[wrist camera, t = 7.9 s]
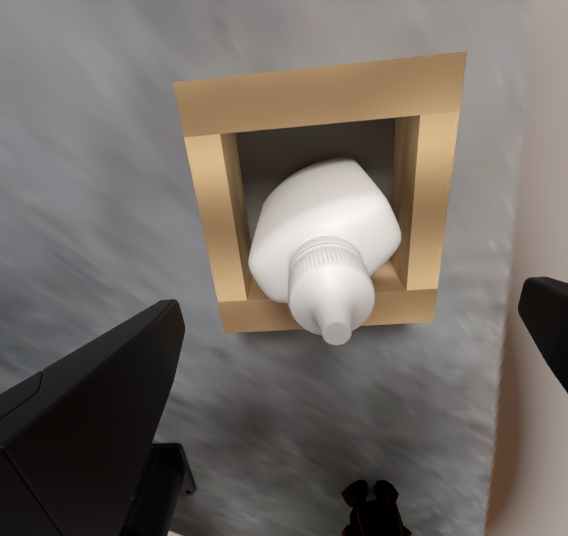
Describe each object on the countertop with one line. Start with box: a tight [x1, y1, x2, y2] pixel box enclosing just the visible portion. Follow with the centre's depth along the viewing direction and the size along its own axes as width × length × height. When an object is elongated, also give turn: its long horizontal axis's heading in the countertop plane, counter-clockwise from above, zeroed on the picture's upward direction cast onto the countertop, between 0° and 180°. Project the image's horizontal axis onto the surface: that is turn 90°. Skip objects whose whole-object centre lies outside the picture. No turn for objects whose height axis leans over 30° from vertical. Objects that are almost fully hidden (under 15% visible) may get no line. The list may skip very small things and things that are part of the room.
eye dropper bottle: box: [248, 158, 401, 345], centre depth 14 cm, size 4×6×12 cm
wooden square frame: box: [173, 52, 467, 333], centre depth 18 cm, size 12×11×4 cm
